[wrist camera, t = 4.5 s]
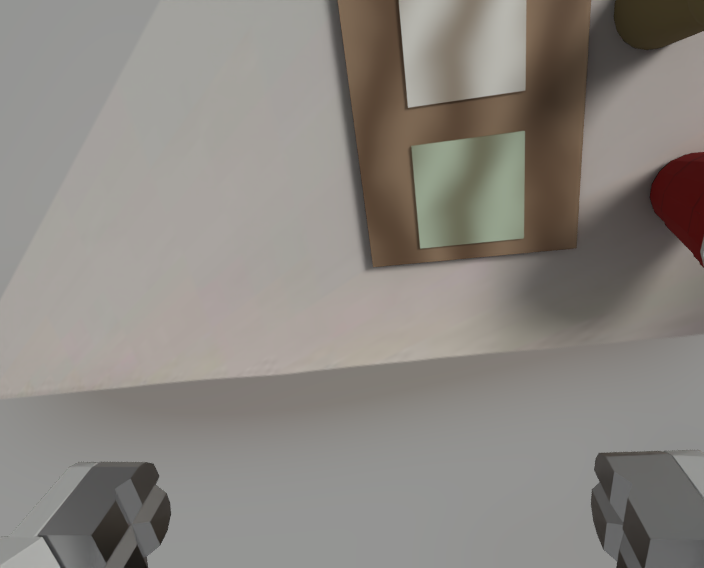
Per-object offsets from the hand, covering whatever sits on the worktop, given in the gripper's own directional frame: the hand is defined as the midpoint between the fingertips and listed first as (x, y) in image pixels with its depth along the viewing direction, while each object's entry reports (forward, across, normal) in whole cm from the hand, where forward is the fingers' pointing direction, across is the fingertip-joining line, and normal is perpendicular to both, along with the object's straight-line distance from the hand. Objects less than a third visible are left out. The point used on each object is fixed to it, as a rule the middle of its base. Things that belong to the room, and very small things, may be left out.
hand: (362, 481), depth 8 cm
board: (+34, +6, +3) cm, 35 cm away
